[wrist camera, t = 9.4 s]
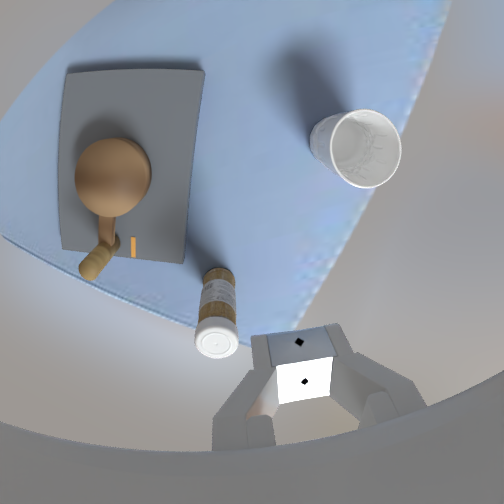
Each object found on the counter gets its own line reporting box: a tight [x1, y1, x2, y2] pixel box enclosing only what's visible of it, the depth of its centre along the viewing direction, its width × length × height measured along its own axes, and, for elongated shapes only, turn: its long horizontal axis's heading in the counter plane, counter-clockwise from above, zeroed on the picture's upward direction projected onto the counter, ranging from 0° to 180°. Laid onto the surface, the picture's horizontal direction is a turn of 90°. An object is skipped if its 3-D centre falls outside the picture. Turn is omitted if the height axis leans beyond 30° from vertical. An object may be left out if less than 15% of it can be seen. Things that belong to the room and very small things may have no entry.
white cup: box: [310, 109, 401, 188], centre depth 30 cm, size 8×8×10 cm
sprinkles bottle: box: [195, 268, 238, 358], centre depth 35 cm, size 5×5×13 cm
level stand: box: [58, 69, 205, 264], centre depth 33 cm, size 24×18×2 cm
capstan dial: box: [75, 137, 152, 281], centre depth 30 cm, size 15×9×8 cm, turn 168°
